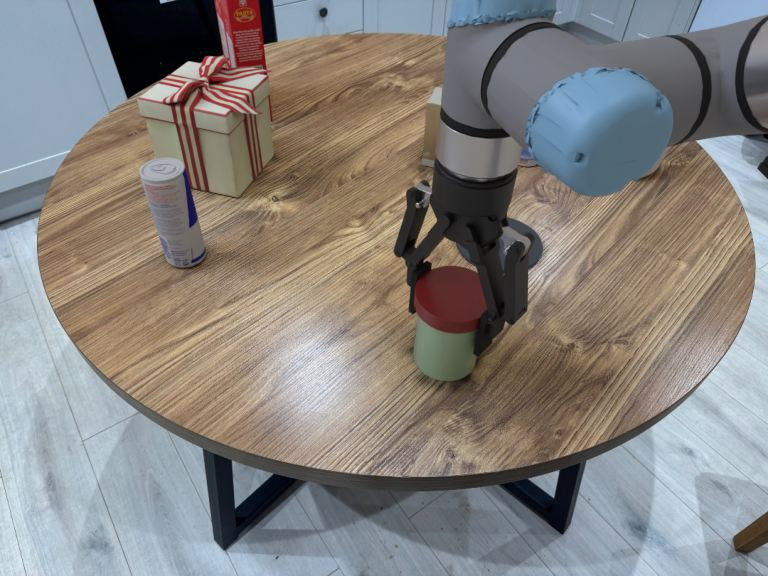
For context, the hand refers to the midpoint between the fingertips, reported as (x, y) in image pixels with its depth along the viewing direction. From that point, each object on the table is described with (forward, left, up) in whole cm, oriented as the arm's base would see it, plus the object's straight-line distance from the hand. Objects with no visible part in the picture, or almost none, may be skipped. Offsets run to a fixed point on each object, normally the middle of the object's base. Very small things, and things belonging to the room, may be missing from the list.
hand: (449, 327), depth 67 cm
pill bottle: (+29, -40, -6) cm, 50 cm away
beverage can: (+34, +21, -6) cm, 40 cm away
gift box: (+53, +7, -6) cm, 54 cm away
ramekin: (+19, -55, -6) cm, 58 cm away
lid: (0, 0, +5) cm, 5 cm away
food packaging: (+72, -5, -6) cm, 72 cm away
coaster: (+13, -20, -5) cm, 24 cm away
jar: (0, 0, -5) cm, 5 cm away
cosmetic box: (+37, -26, -6) cm, 46 cm away
